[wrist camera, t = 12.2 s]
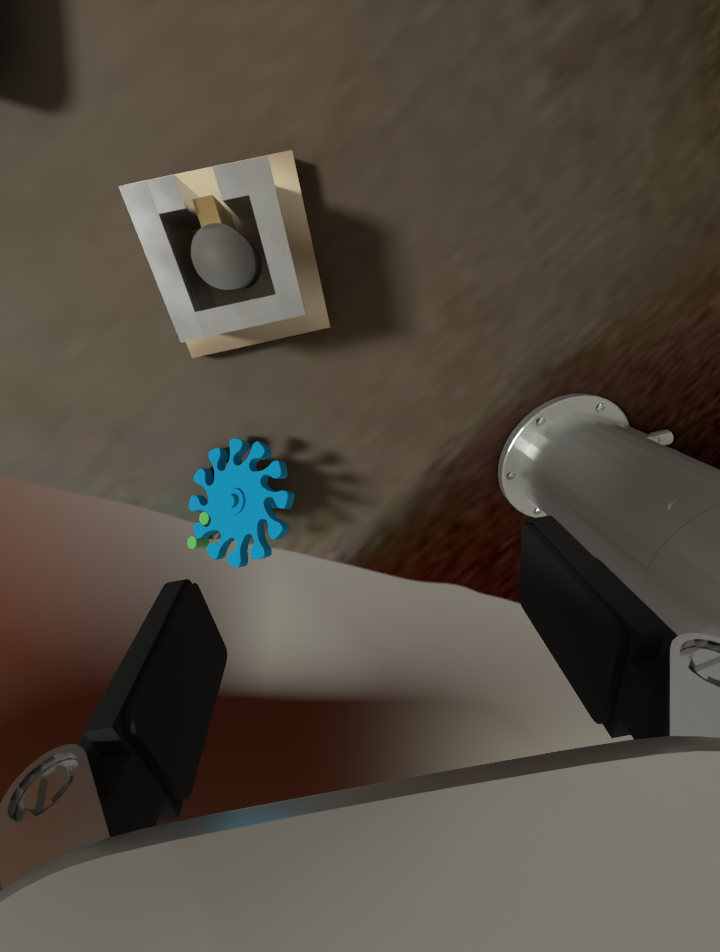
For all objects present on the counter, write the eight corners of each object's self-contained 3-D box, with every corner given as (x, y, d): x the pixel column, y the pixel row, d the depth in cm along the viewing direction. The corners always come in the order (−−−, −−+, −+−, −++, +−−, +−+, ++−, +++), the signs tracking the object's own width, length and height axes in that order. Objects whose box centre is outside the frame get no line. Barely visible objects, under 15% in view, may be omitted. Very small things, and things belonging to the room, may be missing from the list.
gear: (249, 410, 29) (304, 525, 26) (294, 426, 34) (344, 522, 31) (160, 488, 32) (200, 597, 29) (214, 492, 37) (252, 584, 34)
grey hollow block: (304, 309, 26) (305, 314, 21) (205, 331, 26) (180, 342, 21) (275, 185, 23) (267, 155, 18) (161, 209, 23) (118, 186, 17)
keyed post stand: (329, 325, 28) (336, 336, 22) (197, 354, 28) (167, 374, 22) (292, 157, 24) (288, 111, 17) (134, 190, 23) (73, 155, 17)
